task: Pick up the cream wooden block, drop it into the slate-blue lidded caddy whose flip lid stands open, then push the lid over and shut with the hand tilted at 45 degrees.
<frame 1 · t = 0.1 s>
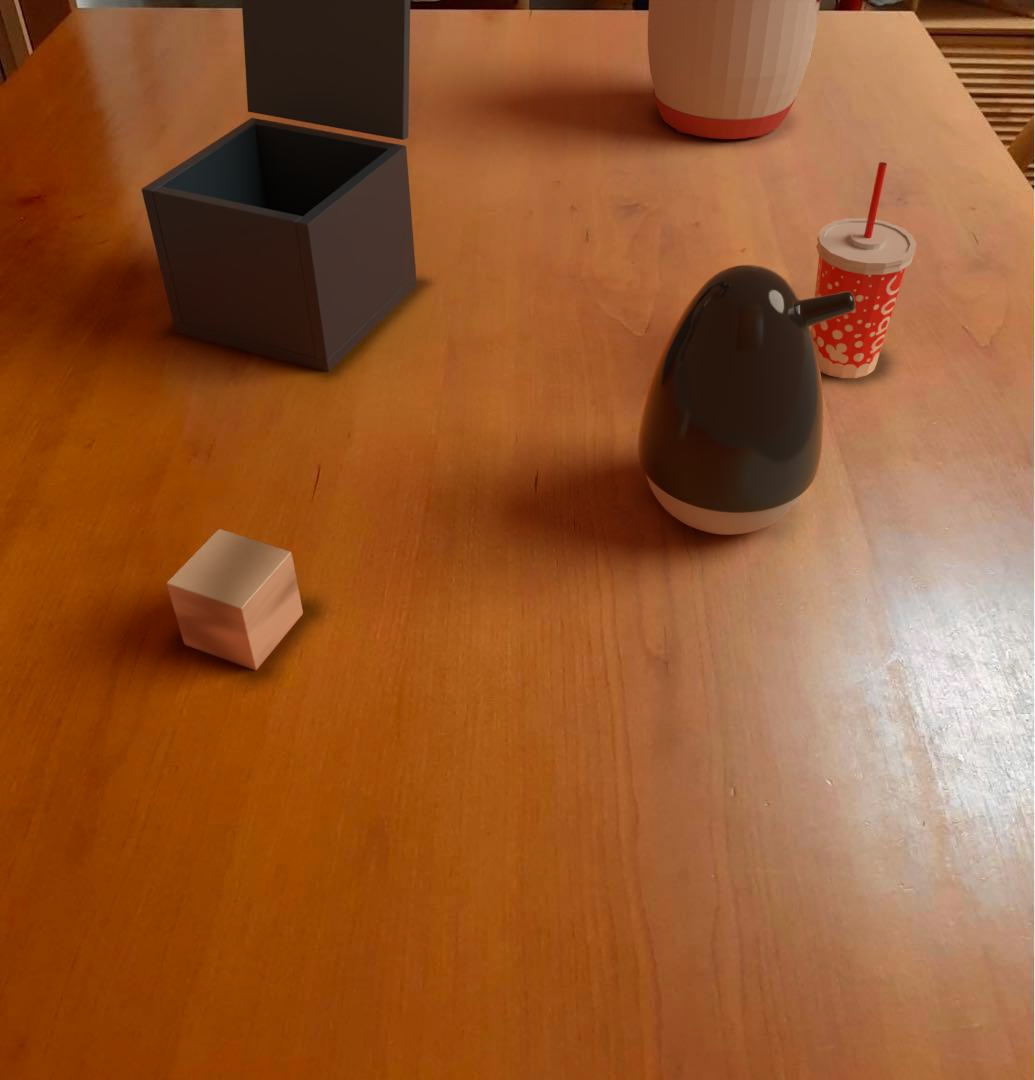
block: (244, 629, 61), on the table
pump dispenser: (722, 505, 69), on the table
citrus juicer: (730, 120, 111), on the table
caddy: (299, 308, 86), on the table
beverage cup: (841, 362, 80), on the table
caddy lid: (324, 20, 79), point 18 cm above the table, hinge at 100.6°, touching gripper
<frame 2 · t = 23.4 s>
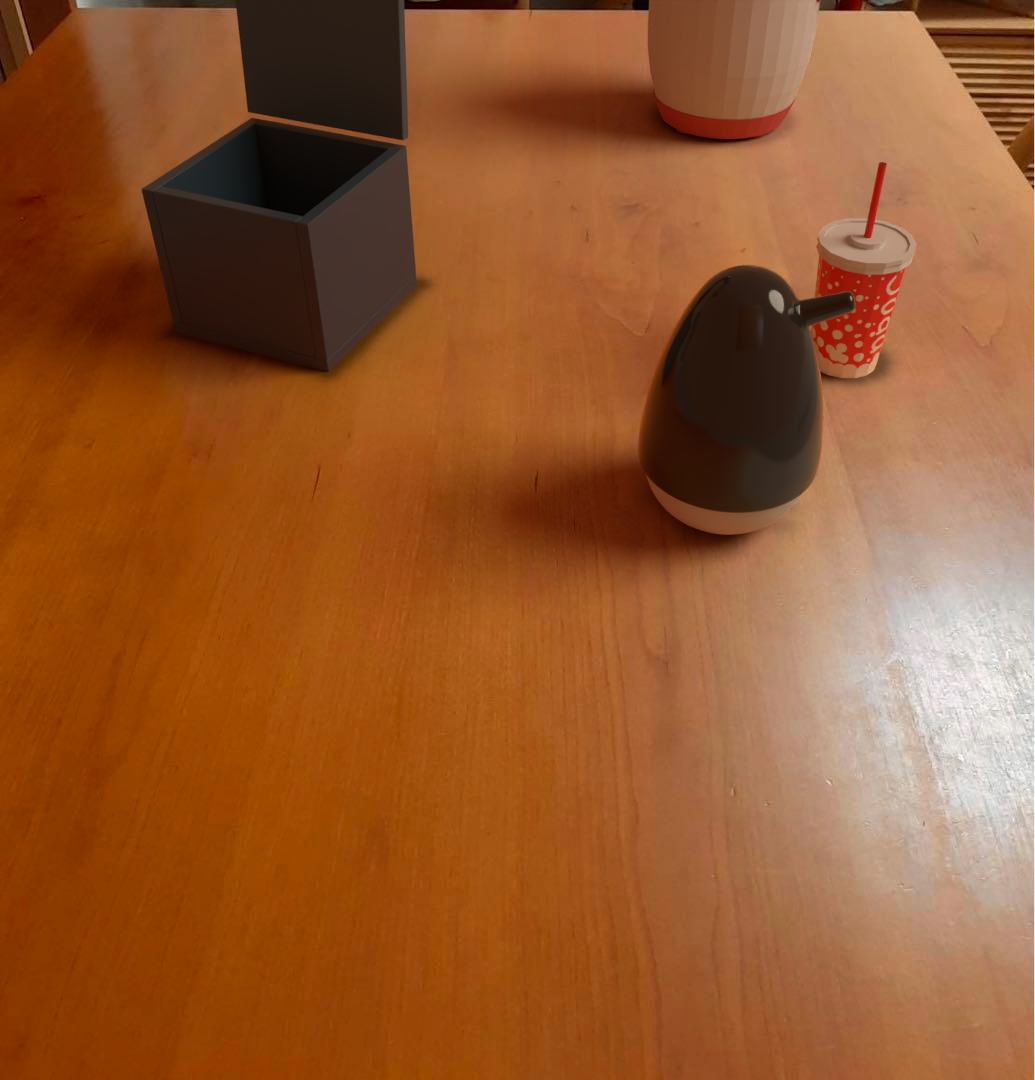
block: (252, 304, 80), point 3 cm above the table, tilted 90°, touching caddy
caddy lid: (319, 22, 78), point 18 cm above the table, hinge at 95.2°, touching gripper
everything else where it was.
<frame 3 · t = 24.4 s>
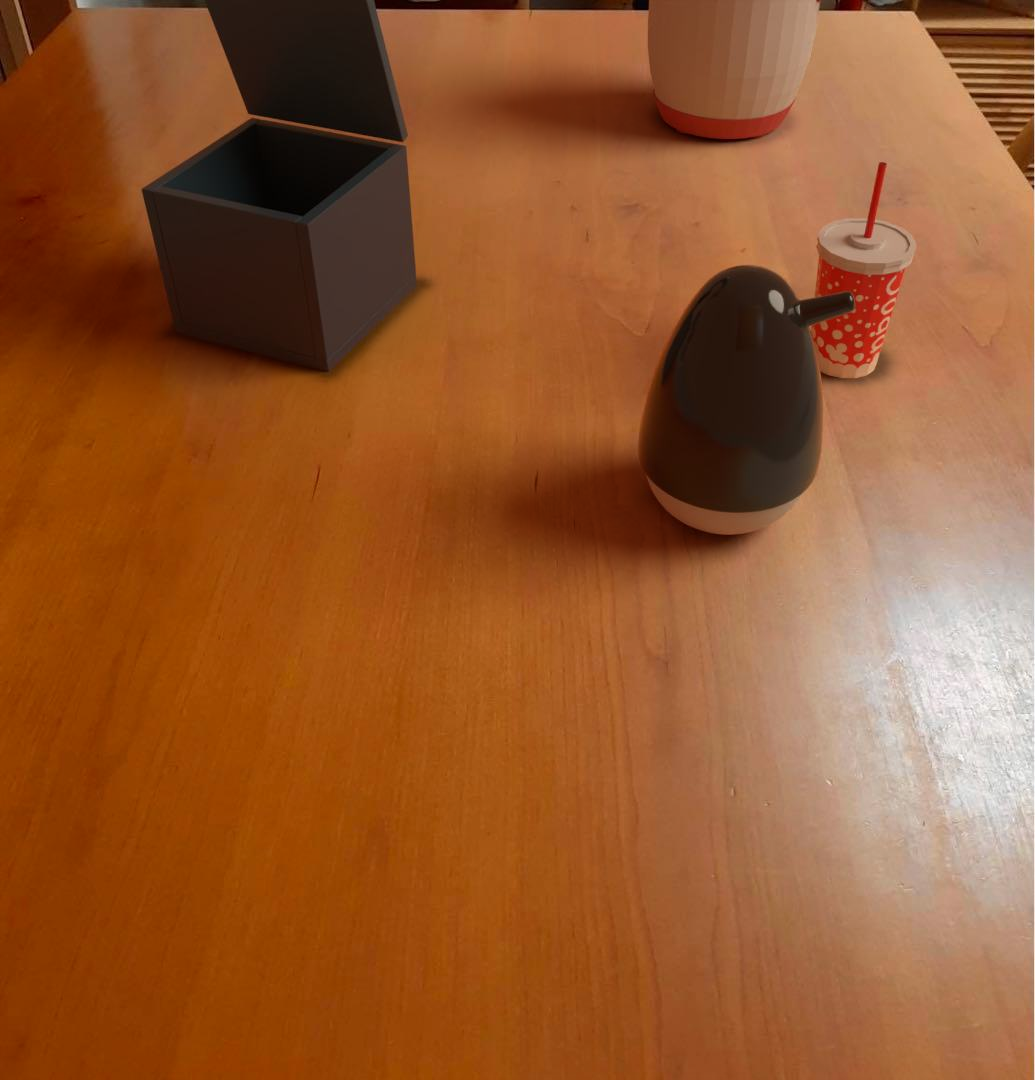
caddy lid: (298, 38, 77), point 18 cm above the table, hinge at 73.2°, touching gripper
everything else where it was.
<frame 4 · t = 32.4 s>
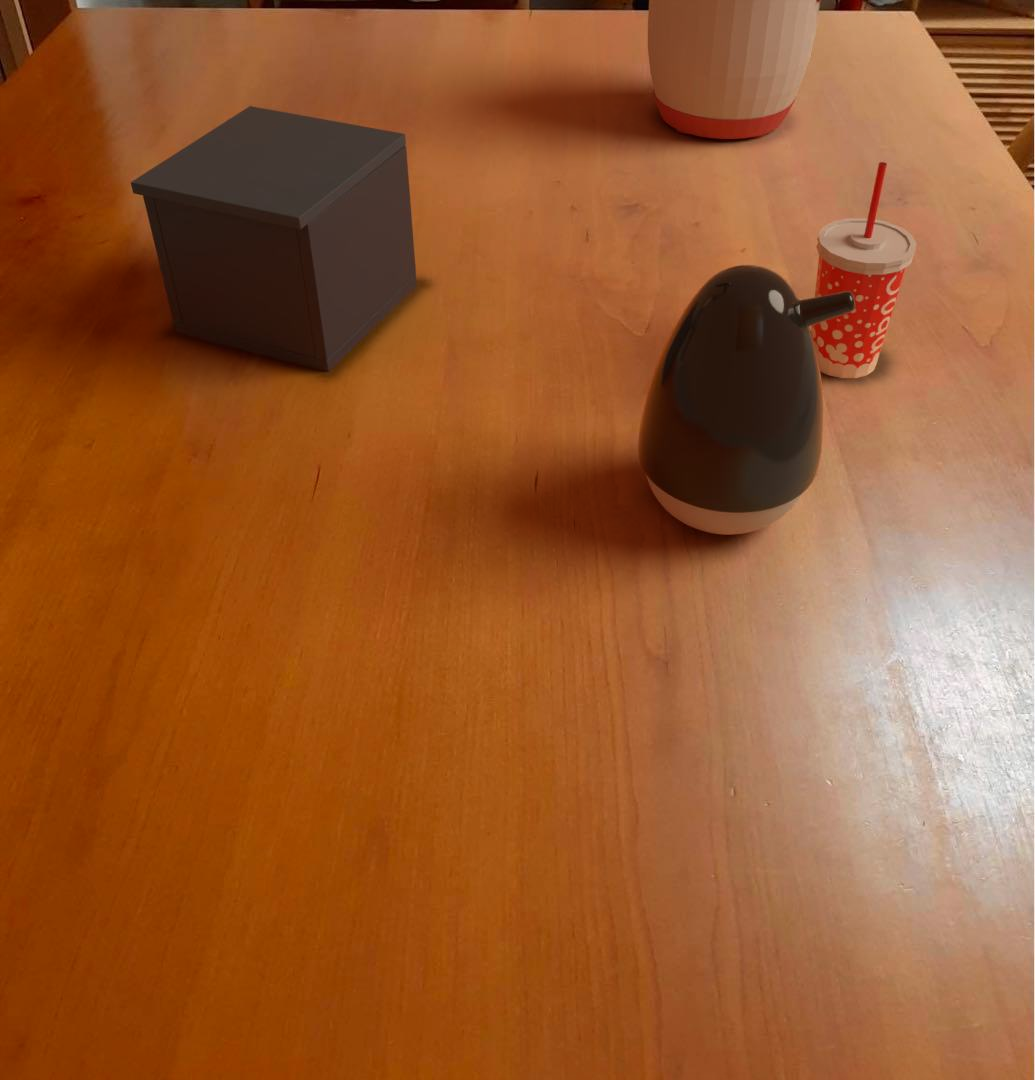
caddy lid: (273, 162, 78), point 11 cm above the table, hinge at -0.2°, touching caddy
everything else where it was.
at the end: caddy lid at +0° (first picture: +101°); block inside the target area in the caddy (5.3 cm from its centre), point 3.1 cm above the caddy's base; the gripper is holding nothing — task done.
